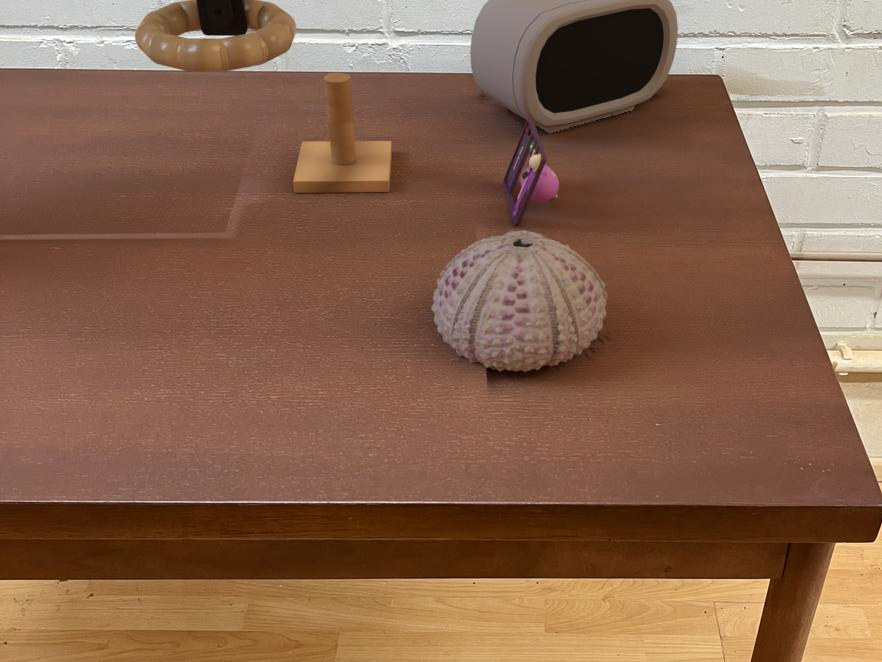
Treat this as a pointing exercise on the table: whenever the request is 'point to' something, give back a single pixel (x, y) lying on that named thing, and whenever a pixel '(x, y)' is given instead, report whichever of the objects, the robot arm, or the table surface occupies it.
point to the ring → (214, 53)
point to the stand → (342, 151)
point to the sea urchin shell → (519, 302)
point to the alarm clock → (572, 56)
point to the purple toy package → (529, 173)
